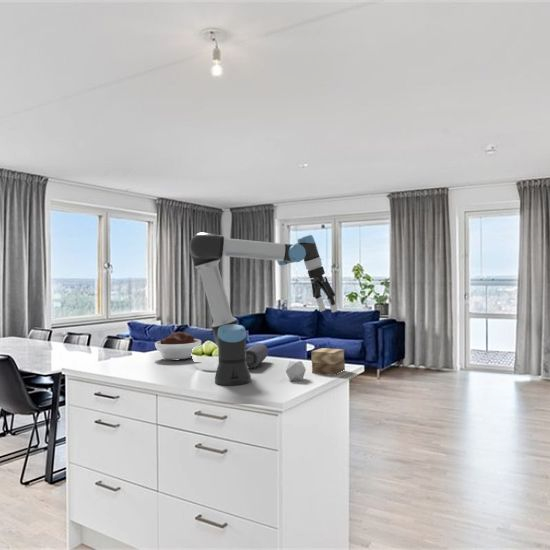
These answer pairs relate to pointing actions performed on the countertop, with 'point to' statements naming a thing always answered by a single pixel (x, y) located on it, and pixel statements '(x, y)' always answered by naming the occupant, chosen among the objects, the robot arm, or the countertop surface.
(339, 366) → the walnut slab
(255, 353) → the bluetooth speaker
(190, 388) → the countertop surface
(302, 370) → the die
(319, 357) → the oak slab
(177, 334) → the white filled bowl
